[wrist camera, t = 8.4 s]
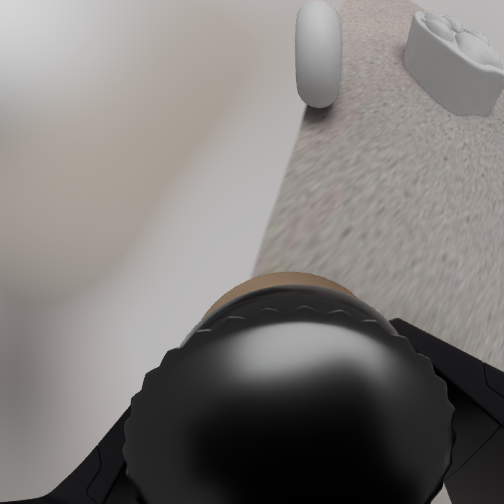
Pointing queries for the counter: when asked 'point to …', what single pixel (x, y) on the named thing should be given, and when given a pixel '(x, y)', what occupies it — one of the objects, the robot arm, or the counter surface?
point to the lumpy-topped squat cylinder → (453, 64)
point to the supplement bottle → (290, 408)
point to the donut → (318, 53)
